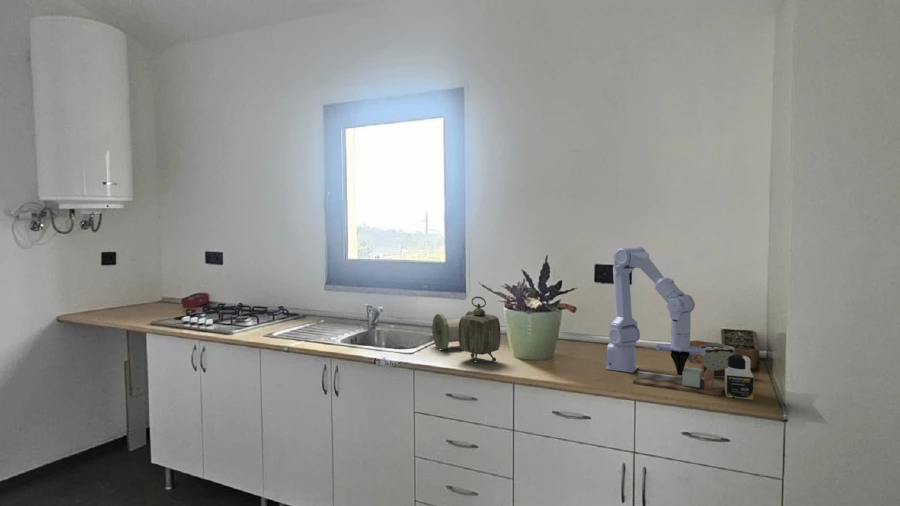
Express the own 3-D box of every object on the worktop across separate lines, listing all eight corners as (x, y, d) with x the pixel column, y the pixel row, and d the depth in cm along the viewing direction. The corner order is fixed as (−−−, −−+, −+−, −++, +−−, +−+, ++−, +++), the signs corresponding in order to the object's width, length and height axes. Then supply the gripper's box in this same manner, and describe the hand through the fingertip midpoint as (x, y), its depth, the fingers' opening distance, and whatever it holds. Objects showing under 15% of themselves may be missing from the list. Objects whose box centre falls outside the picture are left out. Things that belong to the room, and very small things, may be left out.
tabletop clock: (500, 361, 209) (500, 296, 207) (486, 366, 202) (485, 299, 201) (471, 356, 219) (471, 293, 217) (456, 360, 212) (455, 296, 210)
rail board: (633, 383, 179) (633, 365, 179) (640, 375, 188) (640, 358, 188) (720, 396, 166) (721, 376, 165) (724, 387, 174) (724, 368, 174)
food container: (725, 371, 192) (726, 343, 191) (735, 376, 186) (735, 347, 185) (691, 372, 191) (691, 344, 191) (699, 377, 185) (700, 348, 185)
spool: (466, 342, 243) (466, 308, 242) (482, 349, 230) (481, 314, 229) (432, 346, 237) (431, 311, 236) (446, 353, 223) (445, 317, 222)
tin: (683, 361, 206) (683, 339, 206) (686, 359, 209) (686, 337, 208) (726, 368, 196) (726, 345, 196) (729, 366, 198) (729, 343, 198)
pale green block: (682, 385, 173) (682, 371, 173) (685, 380, 178) (685, 367, 178) (699, 387, 171) (699, 373, 170) (702, 382, 176) (702, 369, 175)
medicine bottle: (726, 397, 165) (727, 358, 164) (724, 390, 171) (725, 352, 170) (753, 399, 162) (754, 360, 161) (750, 392, 168) (751, 354, 168)
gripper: (654, 332, 176) (653, 374, 177) (703, 337, 168) (702, 381, 169) (658, 329, 182) (658, 369, 183) (706, 333, 174) (706, 375, 175)
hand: (680, 374), depth 176 cm, fingers closed
